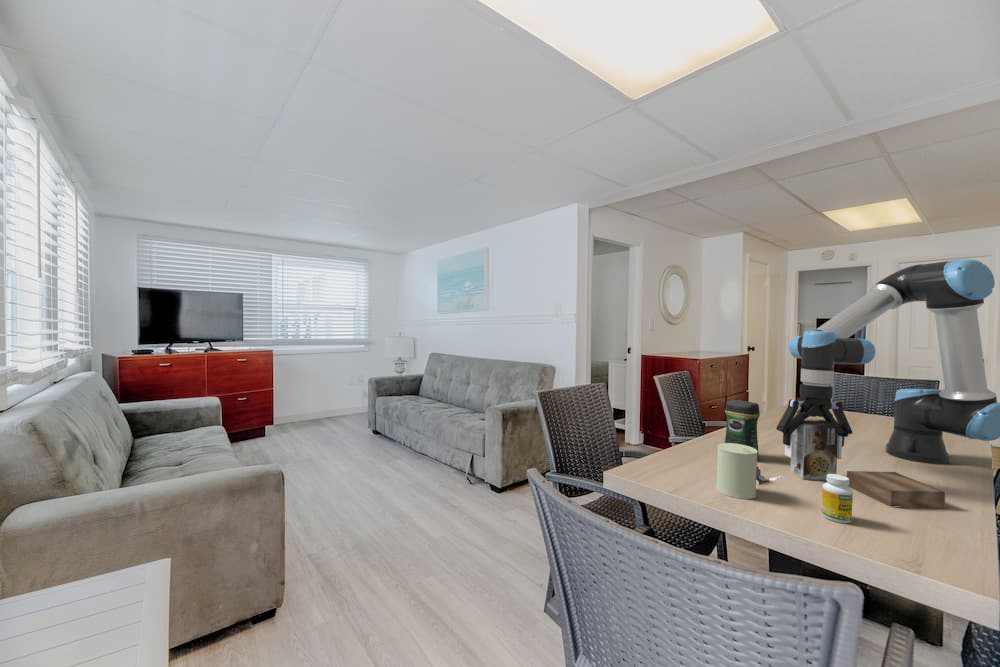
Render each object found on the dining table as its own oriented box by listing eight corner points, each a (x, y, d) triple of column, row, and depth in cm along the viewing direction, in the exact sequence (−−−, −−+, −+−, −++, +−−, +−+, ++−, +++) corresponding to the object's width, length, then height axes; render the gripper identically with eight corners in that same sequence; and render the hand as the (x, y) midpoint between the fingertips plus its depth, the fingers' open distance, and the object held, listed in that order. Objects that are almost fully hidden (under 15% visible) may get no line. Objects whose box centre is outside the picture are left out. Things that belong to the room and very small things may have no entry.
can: (742, 501, 102) (743, 453, 102) (708, 488, 110) (709, 443, 110) (764, 495, 106) (765, 449, 106) (730, 482, 115) (731, 439, 114)
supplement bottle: (833, 511, 98) (835, 471, 97) (857, 522, 92) (859, 480, 92) (815, 513, 96) (817, 473, 96) (838, 525, 91) (840, 482, 91)
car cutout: (764, 489, 111) (764, 473, 111) (737, 481, 116) (738, 466, 116) (785, 477, 120) (785, 462, 120) (760, 470, 125) (760, 456, 125)
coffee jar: (762, 458, 135) (764, 402, 135) (749, 462, 131) (751, 404, 131) (732, 450, 144) (734, 397, 143) (719, 454, 139) (721, 399, 139)
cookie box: (821, 473, 123) (823, 419, 123) (837, 481, 117) (839, 424, 116) (789, 471, 124) (791, 418, 123) (802, 479, 118) (804, 423, 117)
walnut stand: (893, 486, 114) (894, 471, 114) (944, 507, 101) (945, 491, 101) (846, 485, 114) (847, 471, 114) (890, 506, 101) (891, 490, 101)
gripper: (848, 383, 123) (844, 453, 124) (764, 381, 123) (761, 451, 124) (871, 387, 116) (867, 462, 116) (781, 385, 116) (778, 460, 116)
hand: (812, 457), depth 120 cm, fingers open, 13 cm apart
